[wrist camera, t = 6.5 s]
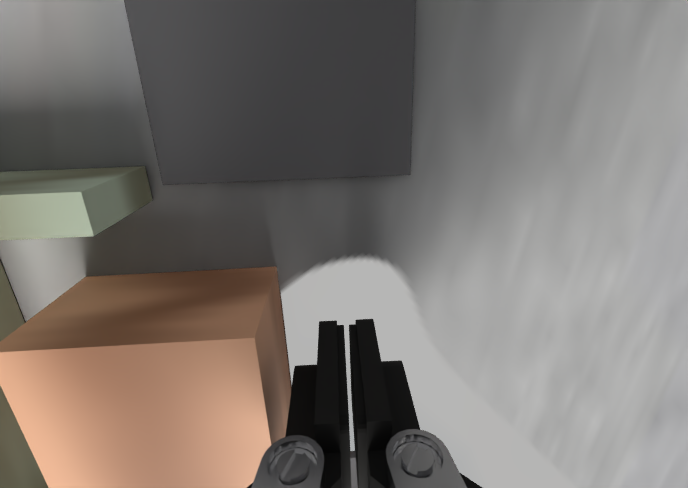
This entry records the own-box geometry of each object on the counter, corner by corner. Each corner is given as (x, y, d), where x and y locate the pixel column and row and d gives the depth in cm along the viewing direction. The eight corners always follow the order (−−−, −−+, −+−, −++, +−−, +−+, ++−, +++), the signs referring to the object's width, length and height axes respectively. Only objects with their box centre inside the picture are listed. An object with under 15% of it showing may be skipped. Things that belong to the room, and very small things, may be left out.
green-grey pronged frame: (496, -35, 9) (566, -88, 7) (442, 536, 17) (464, 622, 15) (-154, -15, 9) (-367, -62, 6) (94, 556, 17) (48, 647, 14)
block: (277, 263, 12) (254, 338, 9) (294, 407, 15) (282, 515, 11) (89, 274, 12) (-15, 352, 9) (135, 417, 15) (68, 529, 11)
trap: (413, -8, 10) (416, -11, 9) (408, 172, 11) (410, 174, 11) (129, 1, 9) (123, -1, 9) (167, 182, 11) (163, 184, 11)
